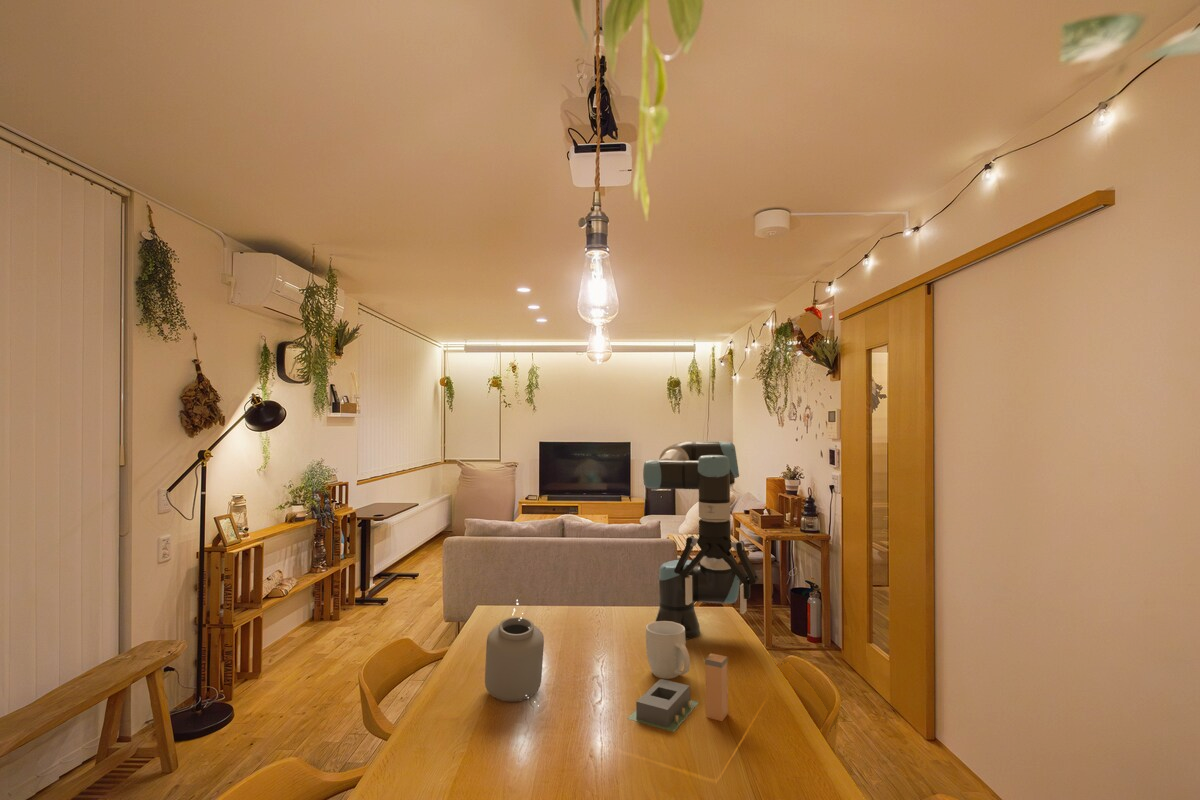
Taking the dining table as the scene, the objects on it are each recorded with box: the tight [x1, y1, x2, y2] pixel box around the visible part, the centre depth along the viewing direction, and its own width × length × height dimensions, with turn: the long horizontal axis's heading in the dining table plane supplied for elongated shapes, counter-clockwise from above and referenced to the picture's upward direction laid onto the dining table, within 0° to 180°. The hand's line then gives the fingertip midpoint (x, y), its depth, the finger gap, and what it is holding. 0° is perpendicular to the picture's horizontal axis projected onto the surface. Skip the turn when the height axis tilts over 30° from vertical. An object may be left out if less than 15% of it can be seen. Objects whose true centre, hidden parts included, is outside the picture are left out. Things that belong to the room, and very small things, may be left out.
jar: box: [484, 599, 545, 707], centre depth 149 cm, size 19×15×25 cm
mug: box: [645, 621, 691, 680], centre depth 159 cm, size 15×11×13 cm
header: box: [626, 678, 699, 733], centre depth 140 cm, size 16×12×4 cm
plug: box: [704, 652, 729, 722], centre depth 138 cm, size 4×4×14 cm
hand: (715, 607), depth 139 cm, fingers open, 13 cm apart
